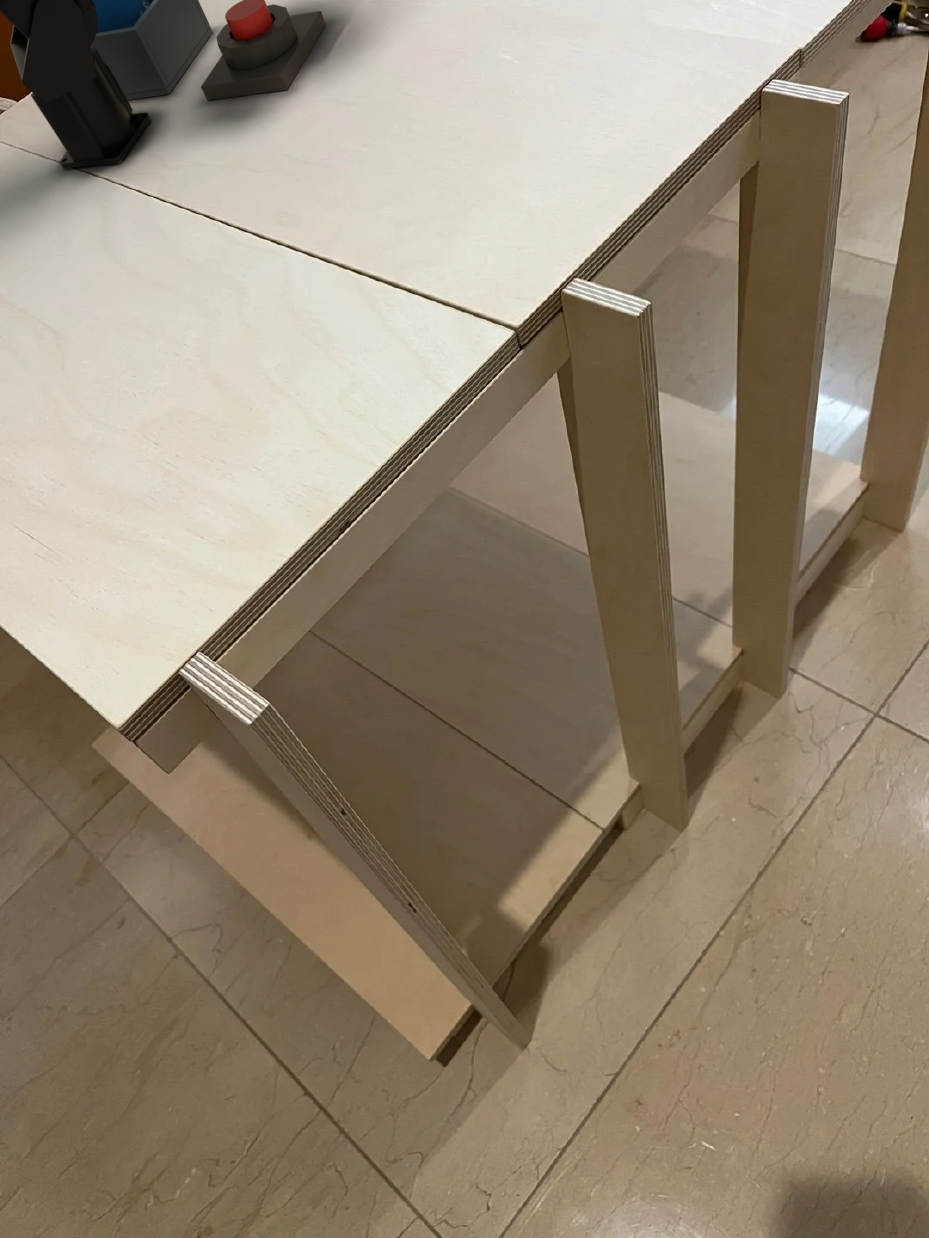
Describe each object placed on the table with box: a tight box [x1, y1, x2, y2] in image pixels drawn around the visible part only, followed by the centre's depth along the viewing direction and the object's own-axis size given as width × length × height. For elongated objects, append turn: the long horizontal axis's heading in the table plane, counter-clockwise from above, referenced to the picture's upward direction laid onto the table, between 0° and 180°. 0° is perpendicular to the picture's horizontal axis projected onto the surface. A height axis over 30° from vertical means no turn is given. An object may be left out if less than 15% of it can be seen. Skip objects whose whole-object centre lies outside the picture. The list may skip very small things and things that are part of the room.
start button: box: [224, 0, 273, 41], centre depth 76 cm, size 4×4×2 cm
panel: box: [200, 4, 326, 101], centre depth 78 cm, size 10×8×3 cm
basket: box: [90, 0, 214, 101], centre depth 82 cm, size 10×10×6 cm
